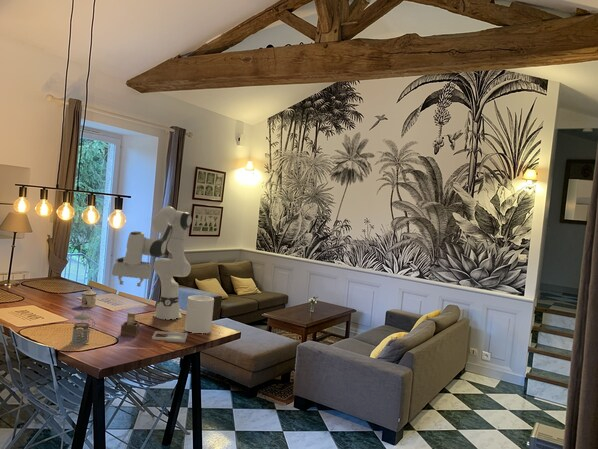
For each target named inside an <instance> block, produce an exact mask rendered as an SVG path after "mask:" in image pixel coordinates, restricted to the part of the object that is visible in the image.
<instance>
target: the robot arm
mask: <svg viewBox="0 0 598 449" xmlns="http://www.w3.org/2000/svg"><path fill="white" fill-rule="evenodd" d="M192 219H193V218H192V215H191V213H190V212H188V211H187V212H186V211H182V210H181V211H180V210H176V209H175V208H174V207H172V206H170V205H166V206H164V207H163V208H161V209H160V210H159V211H158V212H156V214H155V216H154V217H153V219H152V223H151V224H152V227H153V229H154V230H155V232H157V233H159V234H160V237H159V238H156V239H155V238H154V239H153V238H148V237H147V238H146V236H145V233H144V232H143V231H131V232H129V234H128V237H127V242H126V252H125V256H122V257H118V258H116V259H115V262H114V264H113V267H112V270H111V274H112V276H115V277H117V278H118V280H119V285H123V286H124V281H123V280H122V278H124V277H126V278H134V279H139V282H137V285H136V287H141V284H142V283H143V281H144V280H149V279H150V278H151V272H152V271H151V270H152V268H153V270H154V273H156V274H157V275H158V277H159V280H160V283H161V285H160V286H161V289H160V295H159V302H157V304H156V307H155V308H156V309H155V313H154V314H152V317H153V316H154V318H157V319H160V320H165V319H166V320H167V321H168V320H169V321H170V319H172V320H177V319H176V318H178V319H182V318H183V316H182V313H181V310H180V309H181V305H180V304H179V289H180V285H179V283H178V282H176V280H175V279H174V277H178V278H185V277H188V276H189V275H190V273H191V271H192V267H191V264H190V262H188V260H187V258H186V255H185V244H186V240H187V239H186V238H187V229H189V227H190V226H191V224H192V222H193V220H192ZM166 251H167V252H169V253H170V254H171V256H172V258H167V257H162V256H163V255H164V254H166V253H165V252H166ZM143 255H144V256H149V257H155V258H157V259H156V260H155V261H154V263H153V264H151V262H149V261H142V260H143ZM161 257H162V258H161Z"/></svg>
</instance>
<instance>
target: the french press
mask: <svg viewBox="0 0 598 449" xmlns="http://www.w3.org/2000/svg"><path fill="white" fill-rule="evenodd" d="M82 297H83V298H84V299H85V298H86V295H83V296H82V295H81V298H82ZM84 308H85V307H84V305H83V307H82V311H84ZM73 319H75V320H77V321H78V320H80V321H81V322H78V323H77V322H76V323H75V324H74V325H73V328H72V337H71V338H72V340H71V342H70V341H69V345H70V344H71V345H70V346H72V345H73V347H86V346H89V344H88V343H89V339H90V333H92V332H93V331H94V329H95V327H96V322H95V320H94V319H93V318H92V315H89V314H88V313H84V312H82V313H78V314H75V315H74V316H73ZM85 320H87V321H88V322H90V321H92V323H93V324H92V326H90V323H88V322H83V321H85ZM90 327H91V328H90Z"/></svg>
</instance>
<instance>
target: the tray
mask: <svg viewBox="0 0 598 449" xmlns="http://www.w3.org/2000/svg"><path fill="white" fill-rule="evenodd" d="M188 334H189V333H188V332H177V331H163V330H162V331H160V330H155V331H154V332H153V334H152V336H151V340H154V341H155V340H158V341H164V342H167V343H169V342H170V343H186V341H187V338H188ZM157 335H166V336H164V337H163V336H157Z"/></svg>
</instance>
